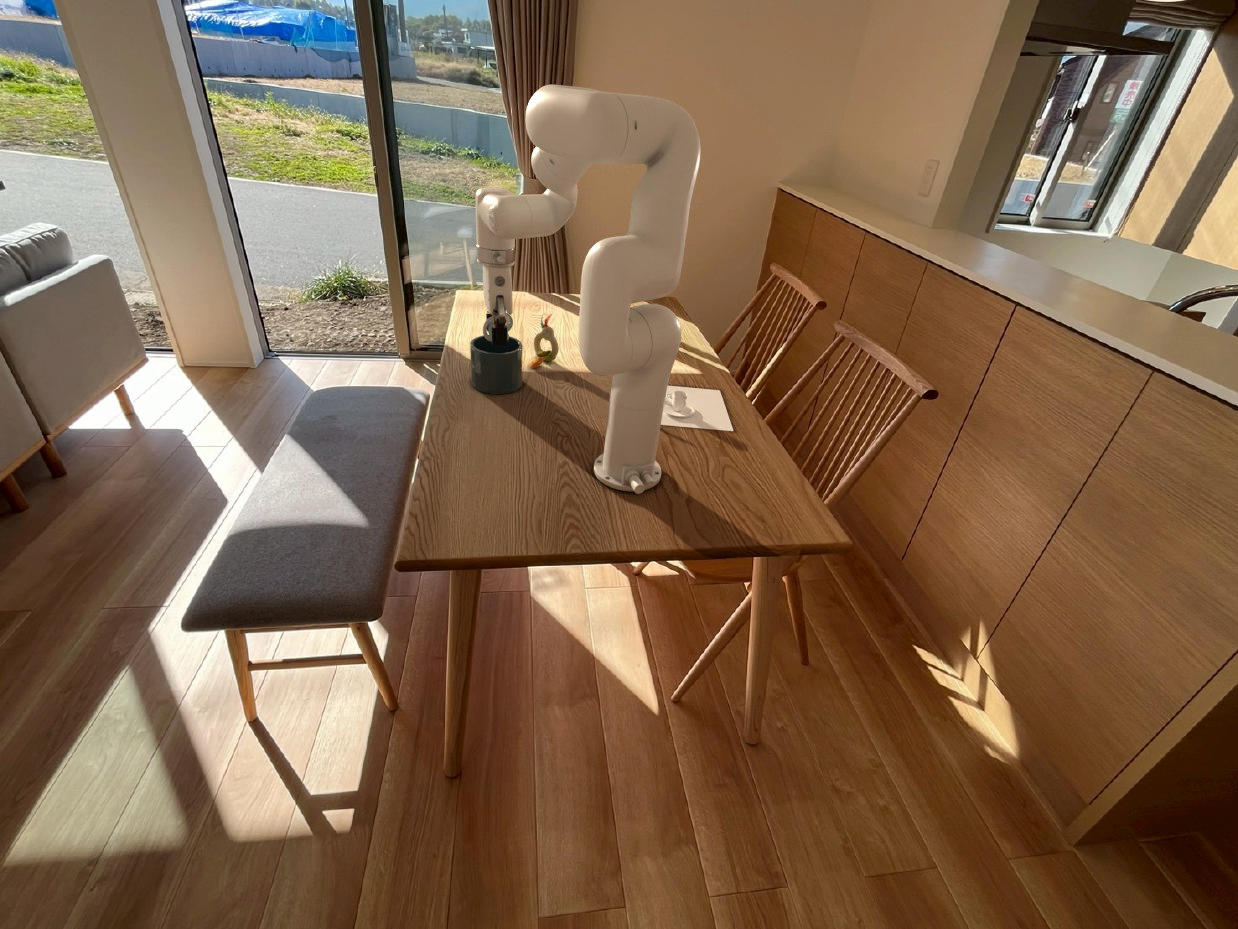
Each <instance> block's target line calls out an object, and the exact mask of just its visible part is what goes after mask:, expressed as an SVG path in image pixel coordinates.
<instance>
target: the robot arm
mask: <svg viewBox="0 0 1238 929" xmlns="http://www.w3.org/2000/svg"><path fill="white" fill-rule="evenodd" d="M524 122H525V130H526V133H527V136H528V138H529V140H530V142H531V143H532V144H533V146H535V148H533V151H532V153H531V159H530V161H531V162H530V163H531V164H530V165H531V168H532V172H533V173H534V176H535V177H536V178H537V180H538V181H539V183H541V185H542V186H544V187H545V188H546V190H545V191H544V192H542V193H540V194H539V193H538V194H536V193H535V194H533V193H532V194H515V195H514V193H513V192H512V191H511V190H510V189H507V188H503V187H493V186H490V187H489V186H487V187H481V188H479V189H478V190H477V191H476V192H475V223H476V224H475V228H476V229H475V231H476V262H477V263H478V264H480V265H482V287H483V288H482V290H483V300H484V305H485V306H486V313H485V321H486V320H487V319H488V318H490V317H492V319H493V327H492V345H493V346H502V345H507V321H506V313H508V314H509V315H510V316H512V314H513V312H514V309H513V308H514V306H513V305H514V304H513V303H514V302H513V278H512V269H511V267H512V266H514V265H515V264H516V261H515V259H516V257H515V256H516V247H515V246H516V241H515V240H520V239H530V238H538V237H539V238H541V237H549V236H552V235H554V234H555V233H557V232H558V231H559V230H561V228H562V227H564V225H565V224H566V223H567V222H568V220H569V219H570V218H571V217H572V216H573V214H574V213H575V211H576V207H577V202H578V194H579V193H578V192H579V190H578V182H580V180H581V179H582V178H583V176H584V175H585V174H586V173H587V172H588V170H589V169H590V168H591V167H592V166H593V165H594V164H595V165H643V166H645V167H646V171H645V172H644V174H643V175H642V177H641V178H640V180H639V181H638V184H637V186H636V188H635V190H634V193H633V196H632V200H631V205H630V215H629V216H630V217H629V225H628V230H627V233H626V234H625V235H619V236H612V237H607V238H603V239H601V240H599V241H597V242H596V243H595V244H593V246H592V247H591V248H590V249H589V250H588V253H587V254H586V256H585V259H584V261H583V265H582V269H581V278H580V295H579V312H578V313H579V316H578V349H579V354H580V357H581V360H582V362H583V364H584V366H585V367H586V368H587V369H588V370H589V372H590V373H593V374H594V375H596V376H600V377H611V376H612V380H611V384H610V389H609V392H610V393H609V399H608V408H607V418H606V427H605V438H604V447H603V453H602V454H600V455H599V456H598V457H596V458H595V460H594V463H593V473H594V475H595V477H596V478H597V480H598V481H599V482H601V483H602V484H604V485H605V486H607V487H609V488H612V489H615V490H618V491H623V492H634V493H635V494H636V495H640V494H642V493H643V492H645V491H646V490H649V489H651V488H654V487H655V486H657V484H658V483H659V482H660V481H661V477H662V468H661V465H660V464H659V462H658V461H657V460H656V457H657V451H658V445H659V439H660V432H661V427H662V425H661V421H662V415H663V408H664V403H665V397H666V391H667V386H669V381H670V376H671V373H672V370H673V367H674V364H675V361H676V359H677V356H678V353H679V350H680V347H681V344H682V343H681V341H682V327H681V323H680V321H679V318H678V317H677V315H676V313H674V312H673V310H671V309H670V308H668V307H667V306H665V305H662V304H658V303H645V304H639V305H634V306H631V305H632V304H637V303H642V302H643V303H644V302H647V301H648V302H649V301H653V300H657V299H661V298H664V297H667V296H669V295H670V294H672V293H673V292H674V291H675V290H676V288H678V285H679V283H680V279H681V274H682V268H683V262H684V256H685V254H684V253H685V249H686V239H687V233H688V226H689V218H690V216H689V215H690V210H691V203H692V197H693V193H694V189H695V185H696V180H697V178H698V177H697V176H698V174H699V173H698V172H699V168H700V161H701V139H700V134H699V130H698V127H697V125H696V123H695V121H694V119H693V117H692V116H691V114H690V113H689V112H688V111H687V110H686V109H685V108H684V107H683V106H681V105H680V104H678V103H676V102H674V101H672V100H670V99H666V98H662V97H657V96H651V95H642V94H629V93H619V92H609V91H600V90H598V89H595V88H590V87H582V86H573V85H572V86H571V85H562V84H546V85H543V86H542V87H539V89H537V90H536V91H535V92H534V94H533V95H532V96H531V98H530V100H529V102H528V104H527V106H526V110H525V121H524ZM495 316H498V318H497V320H496V317H495ZM488 327H489V324H488V326H487V332H488Z"/></svg>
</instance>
